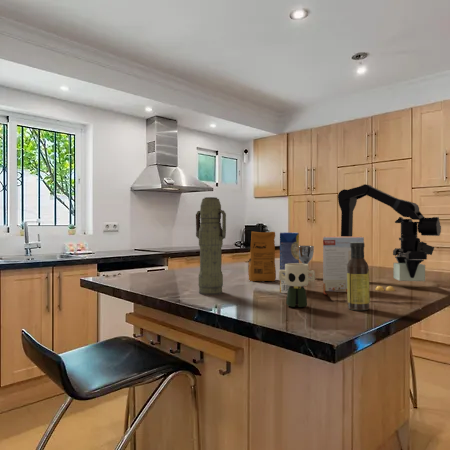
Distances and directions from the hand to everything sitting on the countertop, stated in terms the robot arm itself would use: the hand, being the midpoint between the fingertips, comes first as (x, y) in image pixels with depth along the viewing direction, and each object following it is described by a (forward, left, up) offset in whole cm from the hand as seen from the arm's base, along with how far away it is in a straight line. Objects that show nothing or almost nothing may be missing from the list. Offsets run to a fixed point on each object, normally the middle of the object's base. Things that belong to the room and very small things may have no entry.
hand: (408, 276), depth 144 cm
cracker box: (-26, -10, -6) cm, 28 cm away
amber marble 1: (-13, -8, -4) cm, 16 cm away
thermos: (-74, -13, -6) cm, 75 cm away
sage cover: (0, 0, -1) cm, 1 cm away
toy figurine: (-44, -33, -6) cm, 55 cm away
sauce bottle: (-26, -34, -6) cm, 43 cm away
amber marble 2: (-9, -8, -4) cm, 13 cm away
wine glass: (-36, +31, -6) cm, 48 cm away
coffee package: (-56, +20, -6) cm, 60 cm away
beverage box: (-45, -5, -6) cm, 46 cm away
